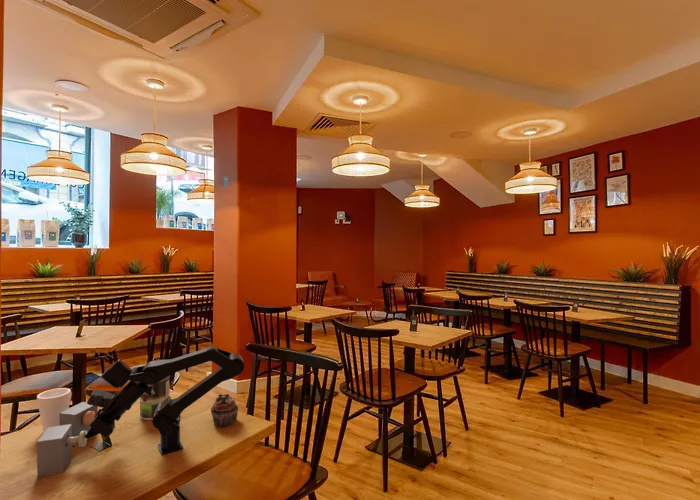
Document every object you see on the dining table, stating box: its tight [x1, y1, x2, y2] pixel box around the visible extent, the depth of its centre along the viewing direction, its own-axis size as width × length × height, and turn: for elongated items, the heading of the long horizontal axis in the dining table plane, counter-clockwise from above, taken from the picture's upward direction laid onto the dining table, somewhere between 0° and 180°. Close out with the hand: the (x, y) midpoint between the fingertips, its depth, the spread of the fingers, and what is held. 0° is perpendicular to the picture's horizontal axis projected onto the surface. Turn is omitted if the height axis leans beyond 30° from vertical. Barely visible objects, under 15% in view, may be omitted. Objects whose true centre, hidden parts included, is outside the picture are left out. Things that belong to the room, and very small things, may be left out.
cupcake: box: [210, 393, 239, 428], centre depth 146 cm, size 10×10×10 cm
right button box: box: [59, 401, 99, 446], centre depth 135 cm, size 6×9×10 cm, turn 170°
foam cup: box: [36, 387, 72, 433], centre depth 140 cm, size 10×9×13 cm
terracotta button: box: [82, 411, 95, 425], centre depth 134 cm, size 6×4×4 cm
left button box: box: [36, 424, 73, 477], centre depth 118 cm, size 6×9×10 cm, turn 20°
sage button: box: [65, 430, 88, 448], centre depth 119 cm, size 6×4×4 cm
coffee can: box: [139, 375, 171, 421], centre depth 152 cm, size 10×10×14 cm
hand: (86, 437), depth 121 cm, fingers closed
